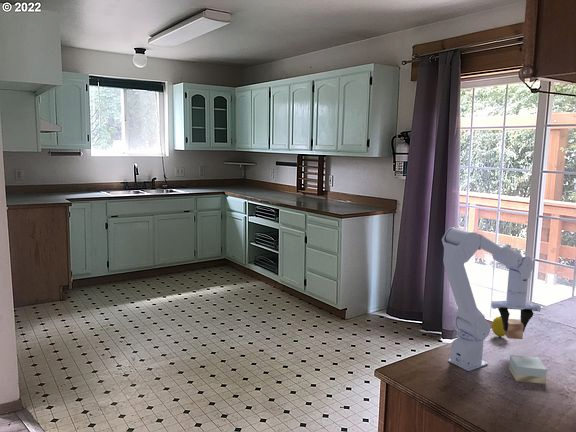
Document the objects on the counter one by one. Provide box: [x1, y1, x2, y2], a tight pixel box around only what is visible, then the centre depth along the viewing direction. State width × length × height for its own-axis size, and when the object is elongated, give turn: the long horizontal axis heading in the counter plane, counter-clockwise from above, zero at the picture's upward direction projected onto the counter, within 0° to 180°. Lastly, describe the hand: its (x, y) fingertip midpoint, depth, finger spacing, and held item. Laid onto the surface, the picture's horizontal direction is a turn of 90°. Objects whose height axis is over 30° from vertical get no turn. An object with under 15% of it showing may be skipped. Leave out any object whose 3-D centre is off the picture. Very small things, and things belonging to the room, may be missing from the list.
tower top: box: [508, 354, 547, 379], centre depth 140 cm, size 8×8×2 cm
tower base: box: [508, 363, 547, 385], centre depth 140 cm, size 8×8×2 cm
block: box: [504, 318, 524, 340], centre depth 153 cm, size 4×4×5 cm
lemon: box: [491, 315, 506, 338], centre depth 168 cm, size 6×6×8 cm
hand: (513, 330), depth 153 cm, fingers closed on block, 4 cm apart
